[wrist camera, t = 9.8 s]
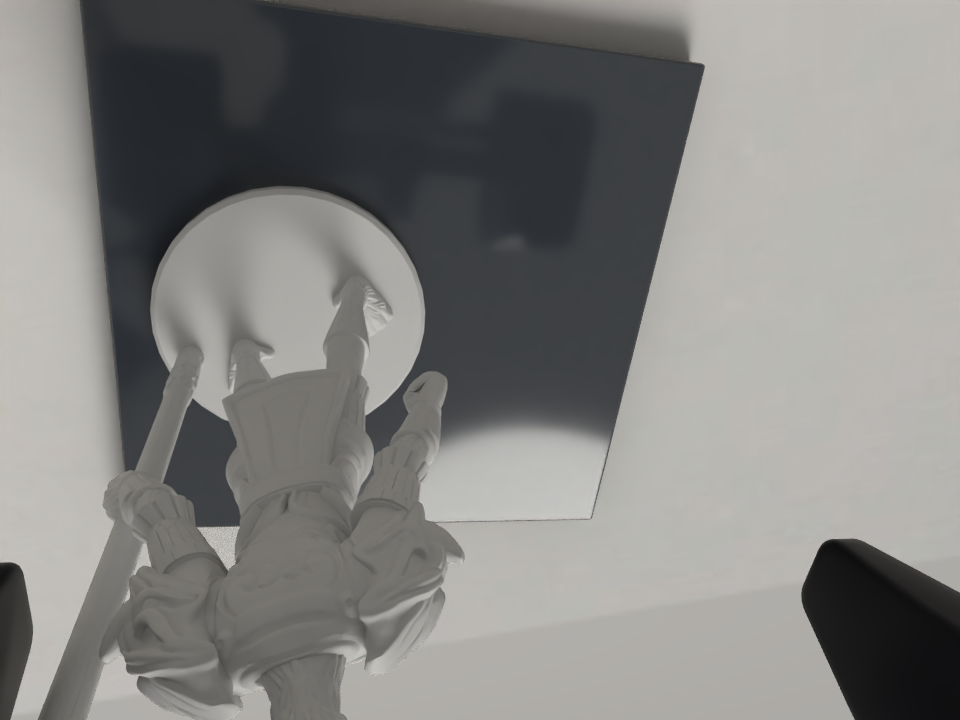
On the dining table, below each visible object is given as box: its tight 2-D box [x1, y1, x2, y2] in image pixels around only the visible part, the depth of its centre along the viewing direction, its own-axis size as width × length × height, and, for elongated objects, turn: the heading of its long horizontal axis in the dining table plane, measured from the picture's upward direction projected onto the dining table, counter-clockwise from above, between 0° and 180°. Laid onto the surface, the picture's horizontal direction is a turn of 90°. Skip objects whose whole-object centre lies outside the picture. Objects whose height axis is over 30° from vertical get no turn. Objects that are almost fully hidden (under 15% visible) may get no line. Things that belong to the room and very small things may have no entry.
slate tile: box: [80, 0, 705, 527], centre depth 15 cm, size 11×11×1 cm
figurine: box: [38, 186, 465, 720], centre depth 9 cm, size 5×5×12 cm
